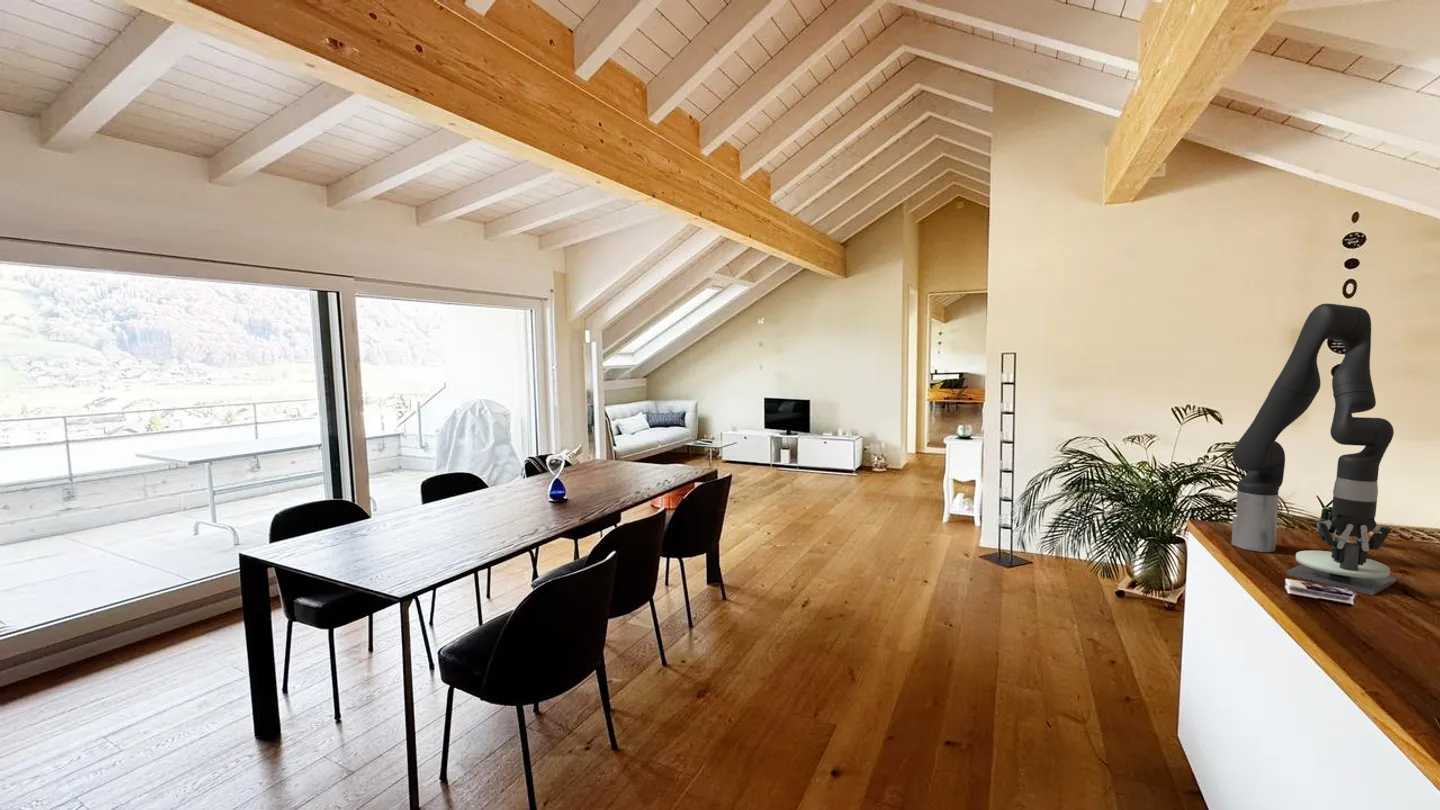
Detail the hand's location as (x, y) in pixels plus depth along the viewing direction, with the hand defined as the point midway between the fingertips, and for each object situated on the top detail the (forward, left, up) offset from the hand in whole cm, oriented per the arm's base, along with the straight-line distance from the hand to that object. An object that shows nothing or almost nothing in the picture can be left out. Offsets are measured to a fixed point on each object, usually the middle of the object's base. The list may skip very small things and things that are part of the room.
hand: (1348, 562), depth 150 cm
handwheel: (-3, +6, -3) cm, 7 cm away
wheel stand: (-3, +6, -6) cm, 9 cm away
